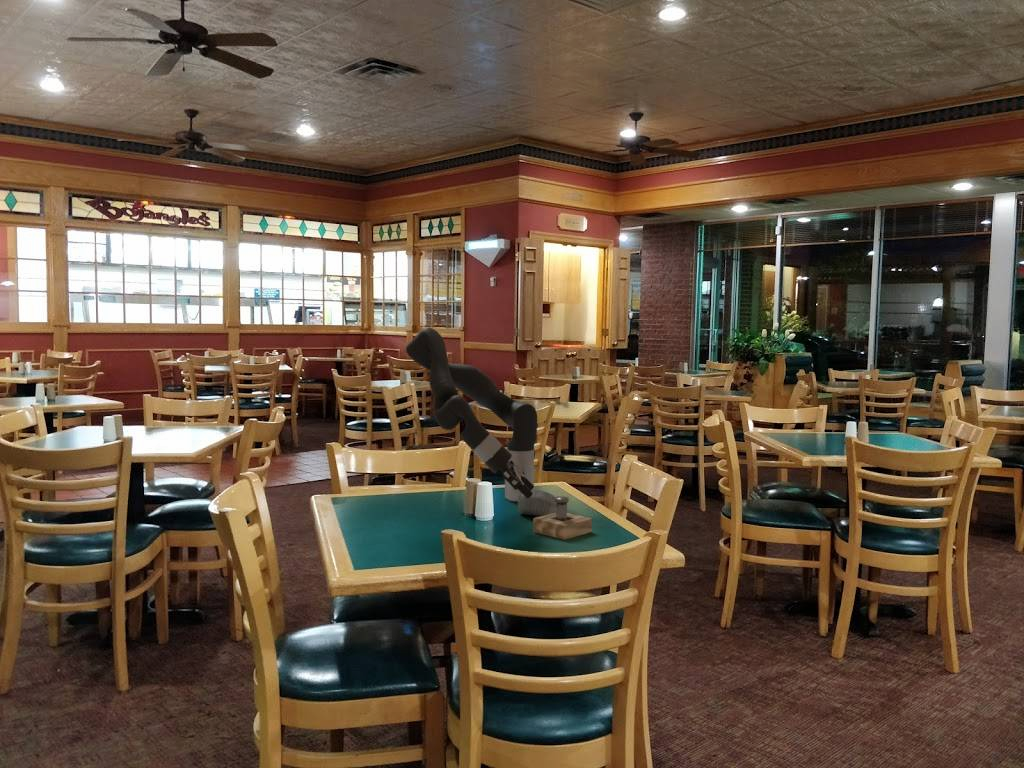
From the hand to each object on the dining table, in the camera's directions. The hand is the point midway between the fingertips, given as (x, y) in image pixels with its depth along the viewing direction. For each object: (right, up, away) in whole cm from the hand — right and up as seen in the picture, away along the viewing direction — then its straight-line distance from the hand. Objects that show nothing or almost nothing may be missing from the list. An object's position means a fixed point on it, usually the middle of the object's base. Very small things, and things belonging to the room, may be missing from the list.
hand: (531, 492), depth 239 cm
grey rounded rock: (+2, -10, +19) cm, 21 cm away
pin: (+9, -11, 0) cm, 14 cm away
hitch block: (+9, -11, 0) cm, 14 cm away
